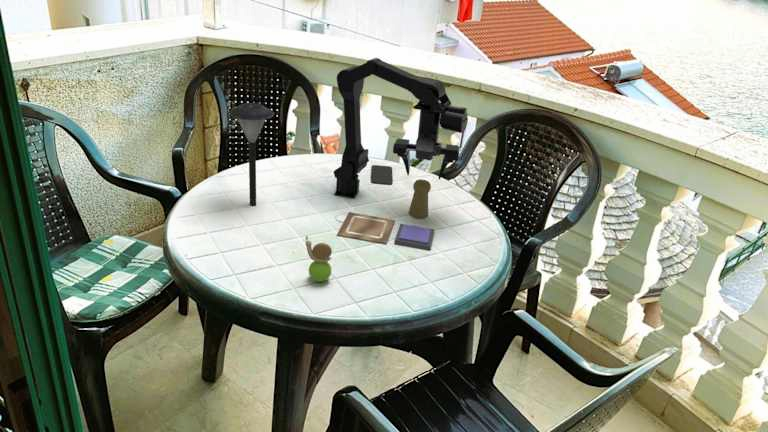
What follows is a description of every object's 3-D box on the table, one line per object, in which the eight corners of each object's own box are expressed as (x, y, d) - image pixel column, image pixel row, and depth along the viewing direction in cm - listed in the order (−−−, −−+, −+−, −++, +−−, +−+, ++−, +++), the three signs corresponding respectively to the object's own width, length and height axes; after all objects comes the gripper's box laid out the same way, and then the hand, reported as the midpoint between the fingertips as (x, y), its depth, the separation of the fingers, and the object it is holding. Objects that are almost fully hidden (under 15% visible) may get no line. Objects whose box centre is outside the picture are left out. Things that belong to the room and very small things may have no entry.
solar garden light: (270, 194, 177) (271, 99, 163) (277, 213, 167) (277, 113, 153) (229, 196, 173) (226, 99, 159) (233, 215, 163) (230, 114, 149)
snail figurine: (304, 273, 142) (306, 230, 136) (330, 273, 142) (333, 232, 137) (303, 285, 137) (305, 242, 131) (330, 286, 138) (333, 243, 132)
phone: (392, 166, 205) (392, 183, 191) (392, 168, 205) (392, 186, 192) (371, 164, 204) (370, 182, 191) (371, 166, 205) (370, 184, 191)
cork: (428, 210, 178) (433, 178, 172) (427, 220, 172) (432, 186, 167) (409, 208, 178) (413, 175, 173) (407, 217, 172) (412, 184, 167)
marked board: (336, 235, 159) (336, 234, 159) (348, 213, 171) (349, 211, 171) (386, 244, 157) (386, 242, 157) (395, 221, 170) (395, 219, 169)
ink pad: (394, 244, 158) (394, 238, 157) (400, 227, 167) (400, 221, 166) (430, 250, 157) (430, 245, 156) (434, 233, 166) (434, 227, 165)
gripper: (391, 131, 156) (388, 183, 163) (460, 139, 154) (453, 192, 161) (397, 119, 166) (394, 169, 173) (462, 126, 164) (456, 176, 171)
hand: (423, 176), depth 169 cm, fingers open, 9 cm apart
